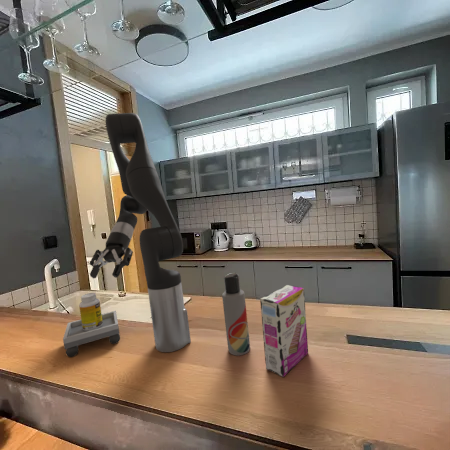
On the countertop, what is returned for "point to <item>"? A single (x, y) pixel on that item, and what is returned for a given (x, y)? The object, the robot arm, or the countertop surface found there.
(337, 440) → the countertop surface
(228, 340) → the lotion bottle
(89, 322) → the supplement bottle
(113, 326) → the square grey tray
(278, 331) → the candy bar box
